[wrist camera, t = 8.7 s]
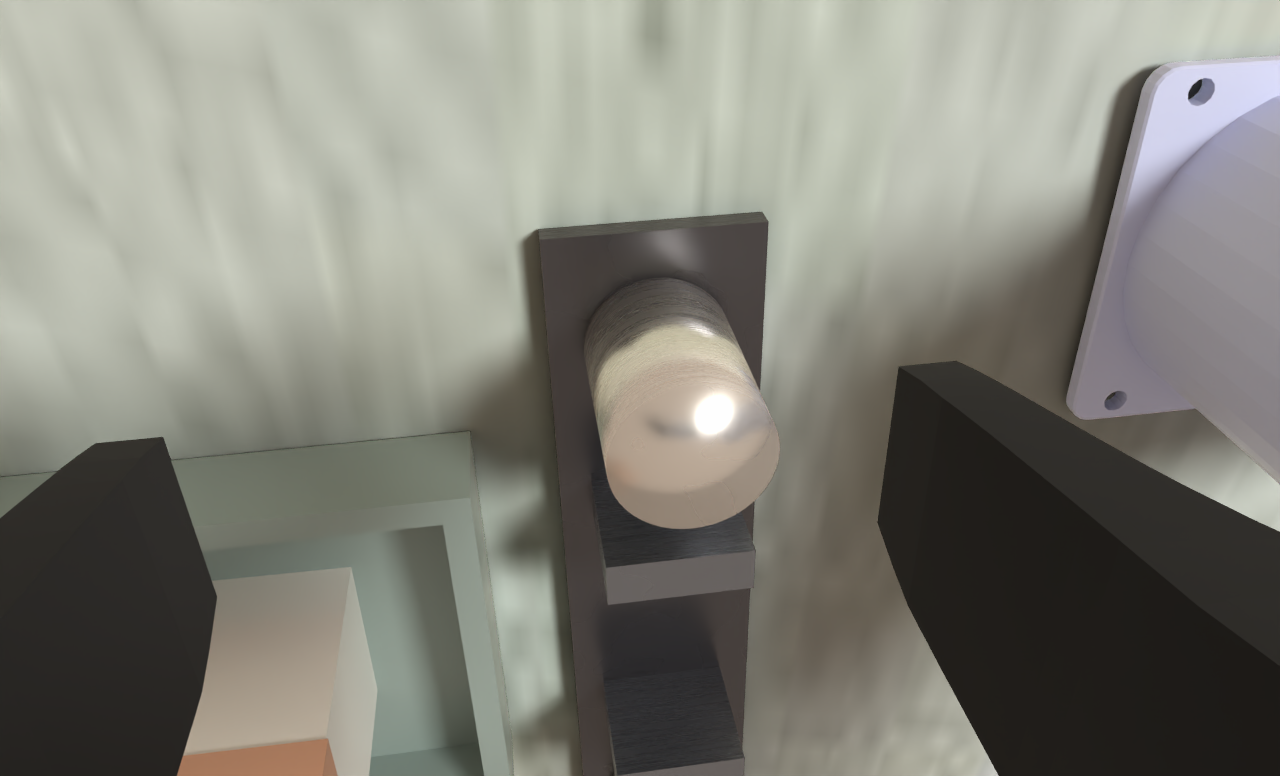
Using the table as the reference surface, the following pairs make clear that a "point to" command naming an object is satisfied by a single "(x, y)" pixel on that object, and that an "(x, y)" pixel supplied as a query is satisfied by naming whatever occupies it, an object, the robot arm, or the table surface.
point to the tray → (373, 577)
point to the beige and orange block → (285, 680)
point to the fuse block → (659, 480)
